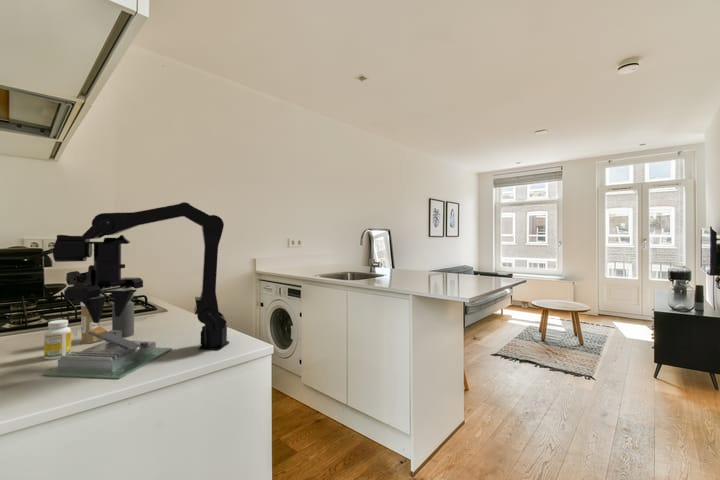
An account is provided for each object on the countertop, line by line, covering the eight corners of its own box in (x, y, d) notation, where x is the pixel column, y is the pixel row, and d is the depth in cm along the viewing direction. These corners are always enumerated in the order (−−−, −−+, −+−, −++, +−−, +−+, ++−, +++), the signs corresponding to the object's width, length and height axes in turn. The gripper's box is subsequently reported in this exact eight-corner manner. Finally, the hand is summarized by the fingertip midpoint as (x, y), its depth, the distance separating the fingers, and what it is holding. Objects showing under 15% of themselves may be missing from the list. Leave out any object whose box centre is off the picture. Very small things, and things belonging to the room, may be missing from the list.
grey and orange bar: (143, 349, 87) (144, 345, 87) (134, 353, 83) (135, 349, 83) (98, 330, 87) (100, 326, 87) (88, 334, 84) (89, 330, 84)
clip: (121, 340, 93) (121, 330, 93) (106, 346, 88) (106, 335, 88) (111, 339, 93) (111, 330, 93) (96, 345, 88) (96, 335, 88)
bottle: (108, 336, 106) (108, 291, 106) (126, 331, 111) (126, 288, 111) (119, 339, 104) (119, 292, 103) (138, 334, 109) (138, 289, 109)
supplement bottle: (51, 361, 85) (51, 325, 85) (39, 358, 87) (39, 322, 87) (75, 354, 90) (75, 320, 90) (63, 351, 92) (64, 318, 92)
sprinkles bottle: (98, 342, 100) (98, 299, 100) (79, 345, 98) (79, 300, 97) (100, 338, 104) (100, 296, 104) (81, 340, 101) (82, 298, 101)
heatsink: (171, 350, 94) (171, 334, 94) (119, 378, 75) (119, 359, 75) (110, 347, 96) (110, 332, 96) (43, 375, 77) (43, 356, 77)
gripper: (108, 258, 95) (108, 310, 95) (42, 263, 77) (42, 328, 77) (144, 258, 95) (144, 311, 95) (86, 264, 76) (86, 330, 76)
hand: (107, 319), depth 86 cm, fingers open, 6 cm apart
